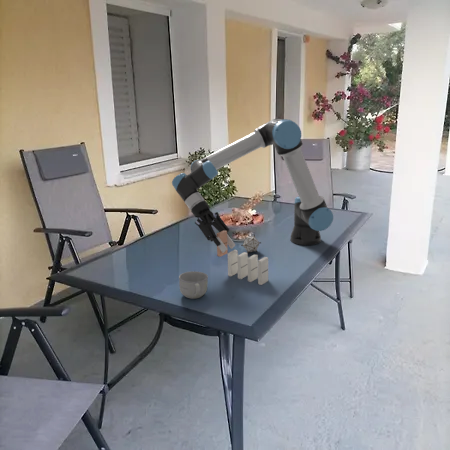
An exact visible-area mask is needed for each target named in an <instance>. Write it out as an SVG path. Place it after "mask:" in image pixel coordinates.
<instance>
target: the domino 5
mask: <svg viewBox="0 0 450 450" xmlns="http://www.w3.org/2000/svg"><path fill="white" fill-rule="evenodd" d="M268 282H269V257H267V256H264V257H262V258H260V259H258V278H257V284H258V285H260V286H262V285H264V284H266V283H268Z"/></svg>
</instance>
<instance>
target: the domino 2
mask: <svg viewBox="0 0 450 450" xmlns="http://www.w3.org/2000/svg"><path fill="white" fill-rule="evenodd" d="M226 255H227V275H228V276H229V277H234V275H236V274H237V275H238V266H237V256H238V255H239V252H238V250H237V249H232V250H231V251H229V252H228V253H227V254H226Z"/></svg>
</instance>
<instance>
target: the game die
mask: <svg viewBox="0 0 450 450" xmlns="http://www.w3.org/2000/svg"><path fill="white" fill-rule="evenodd" d="M260 244H262V242H261V241H260V242H259V240H258V239H257V238H256V235H255V234H254V235H252V236H246V235H245V236H244V241H243V244H241V245H240V247H243V248H244V250H245V251H246V253H248V254H249V253H253V252H256V253H258V248H259V246H260Z"/></svg>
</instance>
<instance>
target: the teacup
mask: <svg viewBox="0 0 450 450" xmlns="http://www.w3.org/2000/svg"><path fill="white" fill-rule="evenodd" d="M208 278H209V276H208V274H207V273H205V272H202V271H195V270H194V271H186V272H183V273H181V274H179V276H178V281H179V291H180V293H181V294H182V295H183V296H184V297H186V298H187V299H191V300H194V299H199V298H202V297H203V296H204V295H206V293H207V290H208V285H209V284H208Z"/></svg>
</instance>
